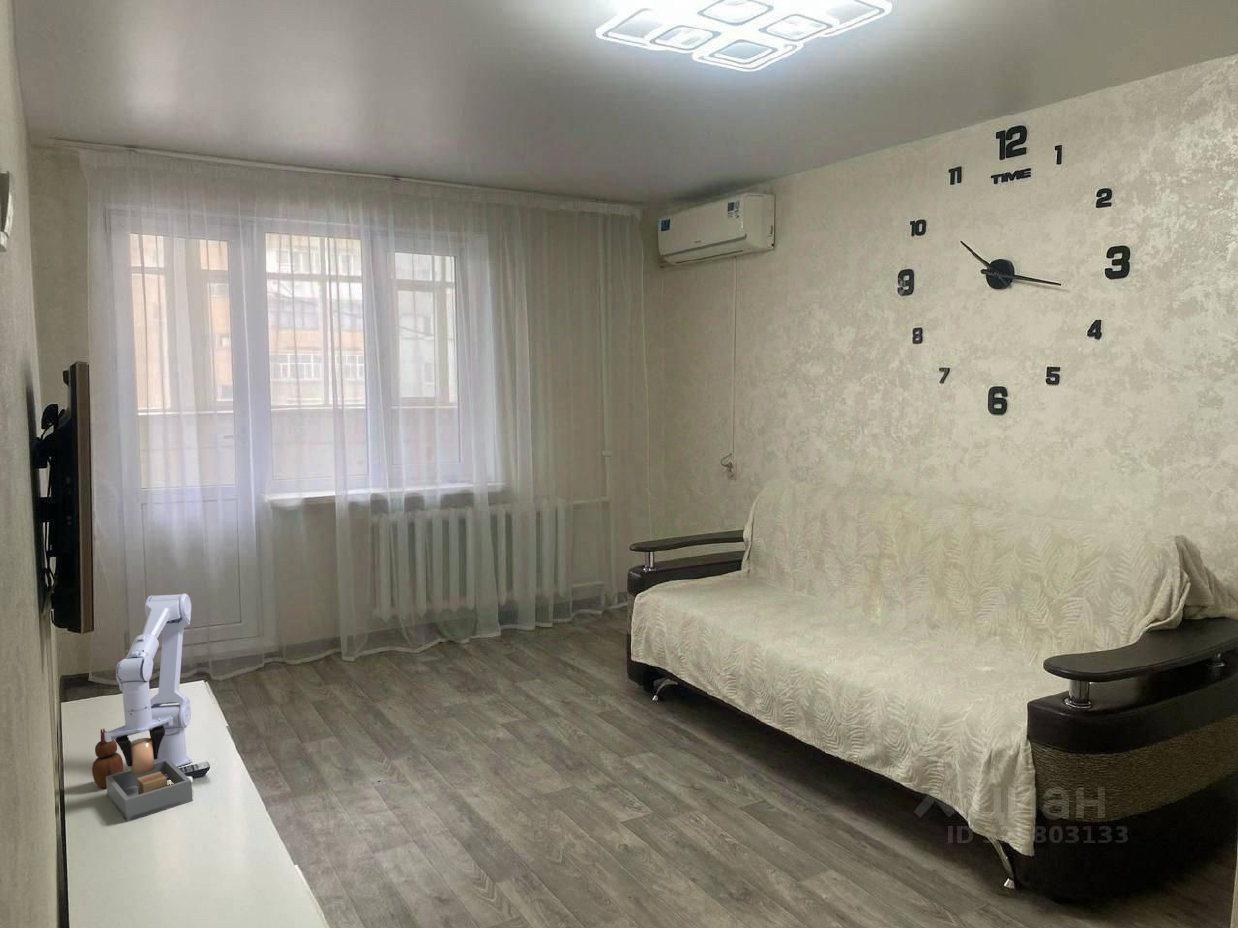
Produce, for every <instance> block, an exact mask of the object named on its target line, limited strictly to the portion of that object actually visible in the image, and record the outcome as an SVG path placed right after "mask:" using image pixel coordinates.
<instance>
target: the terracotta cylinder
mask: <svg viewBox="0 0 1238 928" xmlns="http://www.w3.org/2000/svg"><path fill="white" fill-rule="evenodd" d="M131 759H132V766H130V769H131V773H132V774H144V773H148V772H150V771H152V770H153V769H154V768H155V766H154V754H153V742H152V739H151V738H150V737H141V738H137V739H134V740H131Z"/></svg>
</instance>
